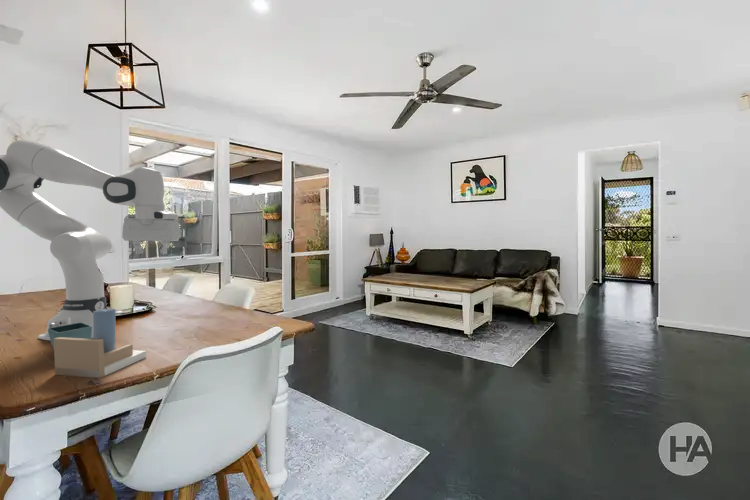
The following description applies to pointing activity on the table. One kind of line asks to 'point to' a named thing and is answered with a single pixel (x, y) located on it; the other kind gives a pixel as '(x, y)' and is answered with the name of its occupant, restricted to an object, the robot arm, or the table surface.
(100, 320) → the light blue cylinder
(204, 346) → the table surface
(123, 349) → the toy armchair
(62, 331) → the flower pot
